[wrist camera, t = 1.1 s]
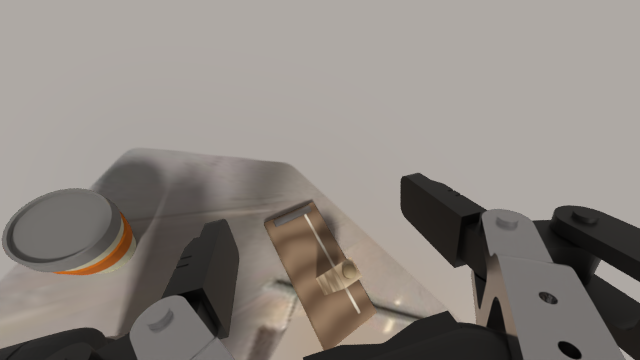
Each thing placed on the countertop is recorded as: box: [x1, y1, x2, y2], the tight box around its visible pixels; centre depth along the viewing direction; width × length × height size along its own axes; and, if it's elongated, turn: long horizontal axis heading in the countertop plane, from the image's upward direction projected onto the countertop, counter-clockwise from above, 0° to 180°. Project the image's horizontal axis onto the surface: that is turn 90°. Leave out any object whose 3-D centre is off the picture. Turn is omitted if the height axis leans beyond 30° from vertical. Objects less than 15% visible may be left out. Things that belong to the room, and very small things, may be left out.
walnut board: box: [264, 202, 377, 350], centre depth 55 cm, size 30×14×2 cm, turn 31°
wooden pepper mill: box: [316, 257, 362, 295], centre depth 48 cm, size 4×4×14 cm
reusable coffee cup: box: [2, 188, 136, 275], centre depth 41 cm, size 13×13×15 cm
